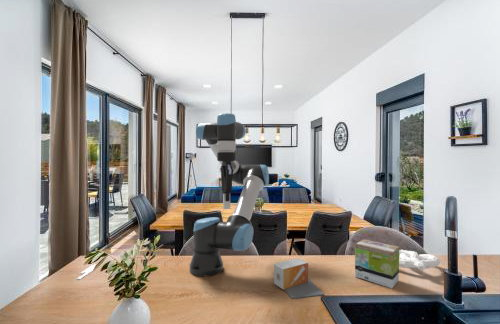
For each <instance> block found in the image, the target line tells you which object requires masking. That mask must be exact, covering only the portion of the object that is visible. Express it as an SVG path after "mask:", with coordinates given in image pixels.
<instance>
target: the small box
mask: <svg viewBox="0 0 500 324" xmlns="http://www.w3.org/2000/svg"><path fill="white" fill-rule="evenodd" d="M308 278H309V262H307V261H305V260H304V259H301V258H299V257H296V258H292V259H289V260H284V261H280V262H276V263H274V264H273V284H274V285H276V286H277V287H279V288H280V289H281V290H284V291H285V289H287V288H290V287H293V286H296V285H300V284H303V283H306V282H308Z"/></svg>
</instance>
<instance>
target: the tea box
mask: <svg viewBox="0 0 500 324" xmlns="http://www.w3.org/2000/svg"><path fill="white" fill-rule="evenodd" d="M354 248H355V249H354V252H355V253H354V254H355V255H354V276H355V278H359V279H363V280H365V281H368V282H371V283H375V284H377V285H380V286H384V287H386V288H389V289H393V288H394V286H396V284H397V283H398V282H399V281H400V279H399V278H400V267H399V250H400V246H398V245H397V246H396V245H393V244H388V243H383V242H378V241H374V240H370V239H364V238H363V239H361V240H360V241H358V242H357V243H355V247H354Z"/></svg>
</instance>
